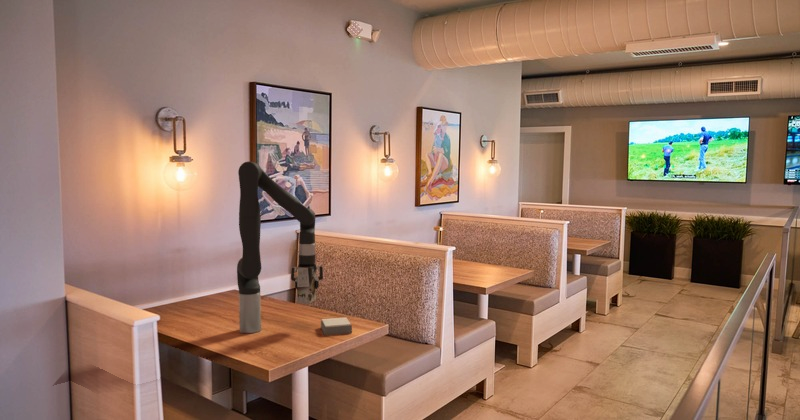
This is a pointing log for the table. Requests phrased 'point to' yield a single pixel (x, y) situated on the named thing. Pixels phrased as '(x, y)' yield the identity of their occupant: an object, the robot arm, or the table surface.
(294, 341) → the table surface
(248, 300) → the robot arm
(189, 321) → the table surface
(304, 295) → the coffee box
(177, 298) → the table surface
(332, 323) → the pedestal
